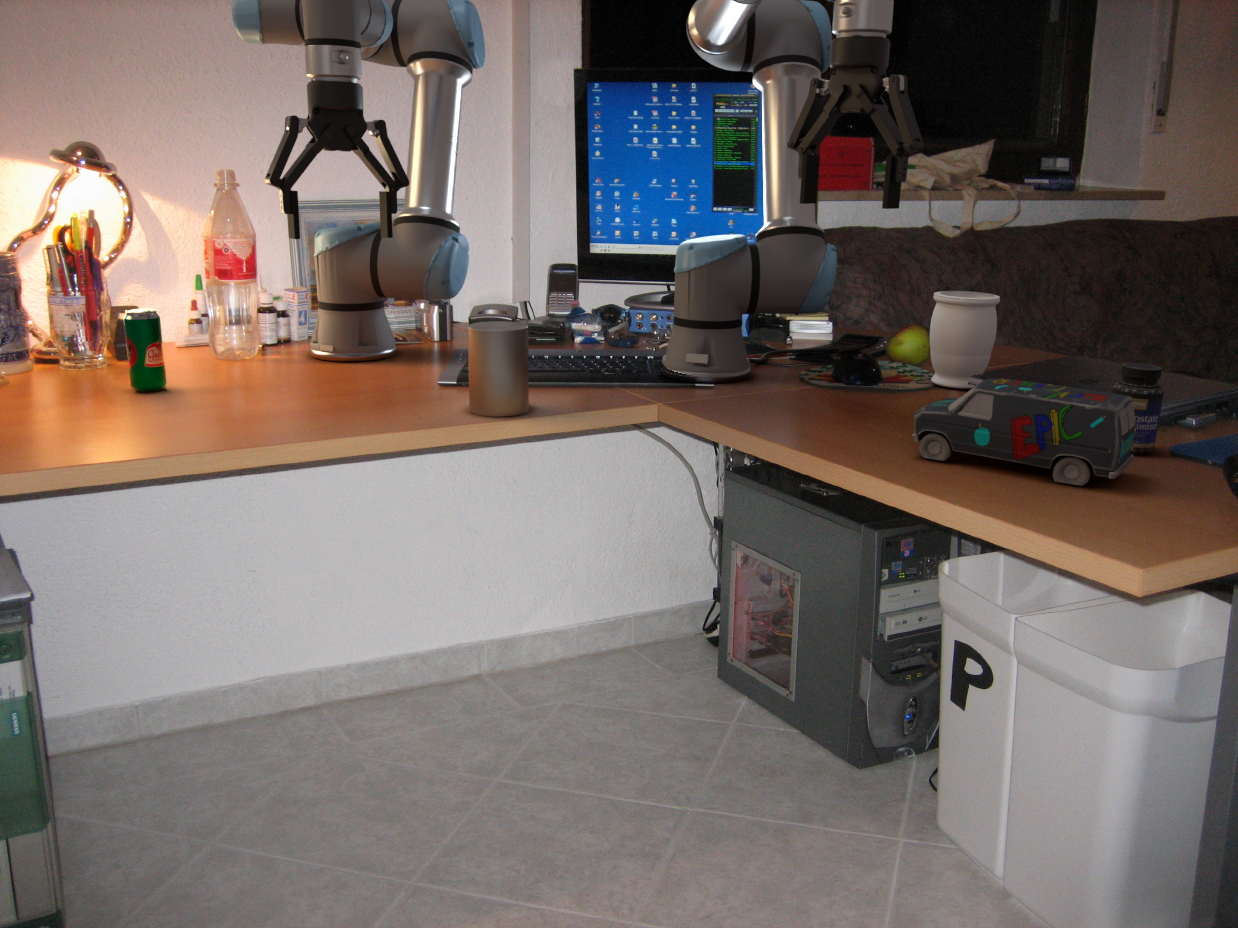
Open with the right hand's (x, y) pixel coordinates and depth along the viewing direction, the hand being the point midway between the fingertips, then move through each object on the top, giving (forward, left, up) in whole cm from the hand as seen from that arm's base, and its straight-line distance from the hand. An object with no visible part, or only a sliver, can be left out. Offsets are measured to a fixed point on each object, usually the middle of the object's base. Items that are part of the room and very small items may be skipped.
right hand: (847, 206), depth 144 cm
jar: (-38, -3, -30) cm, 48 cm away
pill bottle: (-20, +34, -30) cm, 49 cm away
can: (+33, -35, -30) cm, 57 cm away
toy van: (-1, +28, -30) cm, 41 cm away
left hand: (+47, -53, -6) cm, 71 cm away
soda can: (+68, -77, -30) cm, 107 cm away
